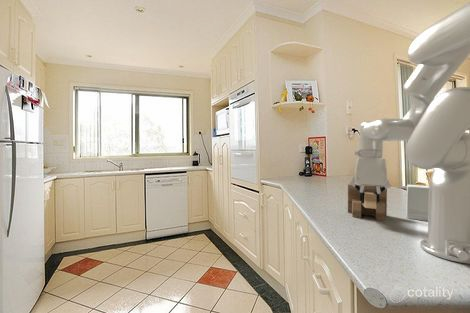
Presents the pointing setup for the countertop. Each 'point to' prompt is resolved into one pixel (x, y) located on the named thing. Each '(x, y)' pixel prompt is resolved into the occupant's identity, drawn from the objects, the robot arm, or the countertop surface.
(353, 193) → the wooden stand
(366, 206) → the light wooden block
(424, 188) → the supplement box
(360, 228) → the countertop surface
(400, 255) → the countertop surface
